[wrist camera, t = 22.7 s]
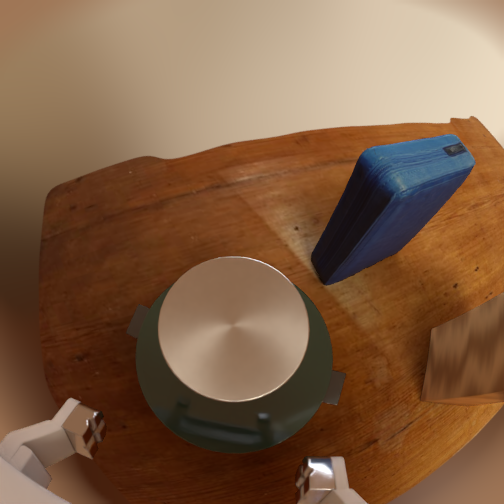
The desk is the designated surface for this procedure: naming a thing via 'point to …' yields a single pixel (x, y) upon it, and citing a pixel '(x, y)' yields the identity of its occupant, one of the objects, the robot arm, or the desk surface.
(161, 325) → the can
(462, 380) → the block
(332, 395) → the pot
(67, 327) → the desk surface
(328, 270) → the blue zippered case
